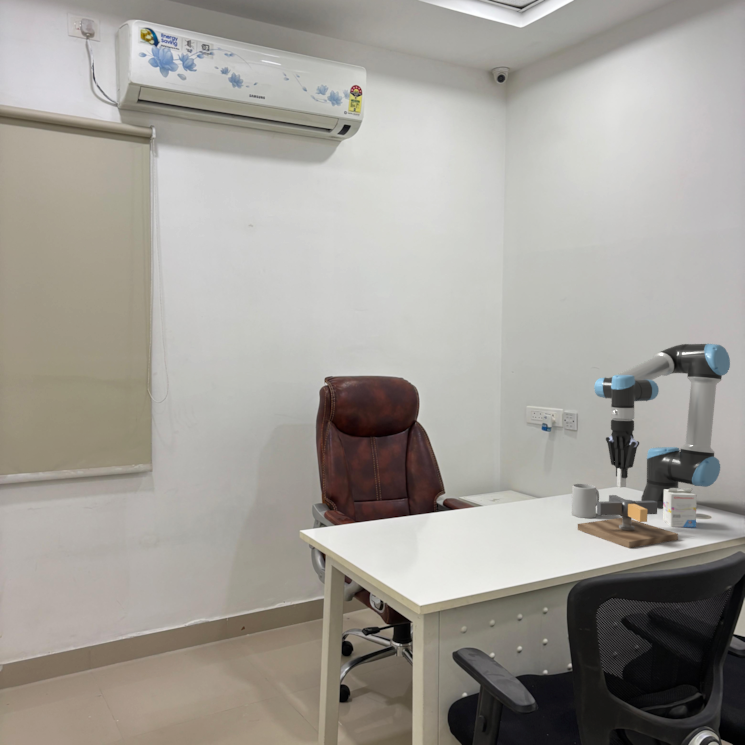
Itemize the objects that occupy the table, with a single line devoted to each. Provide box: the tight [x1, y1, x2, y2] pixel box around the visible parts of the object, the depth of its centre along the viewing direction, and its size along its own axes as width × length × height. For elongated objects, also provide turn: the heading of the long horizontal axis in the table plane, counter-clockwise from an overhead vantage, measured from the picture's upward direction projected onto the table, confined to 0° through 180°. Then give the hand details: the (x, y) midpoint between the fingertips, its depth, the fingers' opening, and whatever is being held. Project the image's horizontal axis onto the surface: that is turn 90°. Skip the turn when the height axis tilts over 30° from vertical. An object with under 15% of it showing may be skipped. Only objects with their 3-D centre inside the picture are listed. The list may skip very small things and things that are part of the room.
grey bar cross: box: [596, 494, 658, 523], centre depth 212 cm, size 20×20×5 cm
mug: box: [571, 483, 600, 519], centre depth 237 cm, size 12×8×11 cm
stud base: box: [577, 516, 679, 549], centre depth 212 cm, size 22×22×6 cm
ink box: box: [662, 487, 697, 528], centre depth 226 cm, size 9×8×13 cm
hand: (621, 486), depth 221 cm, fingers closed
